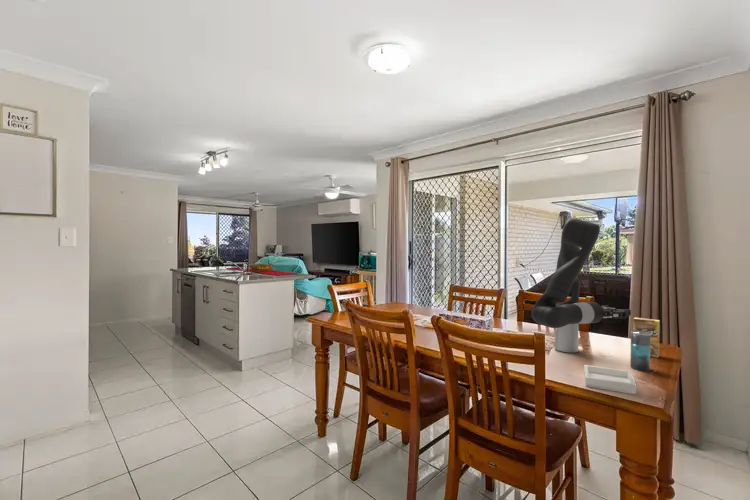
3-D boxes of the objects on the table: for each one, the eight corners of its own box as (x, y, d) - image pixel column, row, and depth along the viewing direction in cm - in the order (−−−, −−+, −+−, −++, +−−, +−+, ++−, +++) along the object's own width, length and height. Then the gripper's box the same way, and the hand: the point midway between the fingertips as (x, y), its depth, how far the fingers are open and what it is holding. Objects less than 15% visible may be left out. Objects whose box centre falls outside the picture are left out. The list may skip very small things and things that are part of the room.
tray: (585, 386, 122) (585, 377, 122) (584, 372, 134) (584, 364, 134) (636, 394, 115) (636, 385, 115) (629, 379, 128) (630, 370, 128)
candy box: (632, 353, 156) (633, 318, 156) (633, 351, 159) (634, 316, 159) (658, 358, 150) (659, 321, 150) (659, 355, 154) (659, 319, 153)
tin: (631, 369, 137) (632, 332, 137) (629, 364, 143) (629, 329, 142) (651, 372, 135) (652, 334, 134) (648, 366, 140) (649, 331, 139)
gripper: (602, 305, 123) (637, 303, 128) (568, 299, 137) (602, 297, 141) (602, 327, 123) (637, 324, 128) (568, 319, 137) (601, 316, 142)
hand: (618, 310), depth 135 cm, fingers open, 8 cm apart
